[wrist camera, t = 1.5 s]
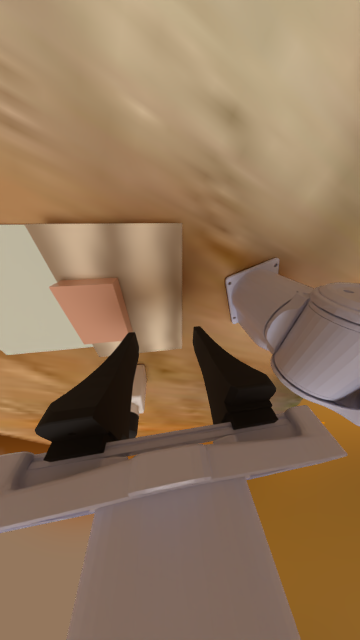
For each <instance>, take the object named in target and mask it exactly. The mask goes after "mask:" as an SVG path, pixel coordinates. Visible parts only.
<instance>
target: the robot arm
mask: <svg viewBox="0 0 360 640" xmlns="http://www.w3.org/2000/svg"><path fill="white" fill-rule="evenodd" d="M275 264H276V265H275ZM274 265H275V266H274ZM278 270H279V258H273V259H271V260H268V261H266V262H264V263H261V264H259V265H256V266H254V267H251V268H249V269H246V270H244V271H241V272H239V273H236V274H234V275H231V276H229V277H227V278H226V279H225V283H226V290H227V296H228V302H229V309H230V315H231V321H232V323H233V324H235V323H239V324H240V325H241V326H242V328H243V329H244V330H245V331H246V332H247V334H248V335H249V336H250V337H251V339H252V340H253V341H254V342H255V343H256V344H257V345H258V346H260V347H261V348H264V349H266V350H269V351H270V352H271V353H272V354H273V355H272V357H271V367H272V370H273V372H274V373H275V375H276V376H277V377H278V379H279V380H280V381H281V382H282V383H283V384H284V385H285V386H286V387H288V388H289V389H290V390H291V391H293V392H294V393H296V394H297V395H299V396H301V397H302V398H304V399H307V400H309V401H311V402H314V403H317V404H320V405H323V406H325V407H327V408H329V409H332V410H333V411H335V412H337V413H339V414H340V415H342V416H343V417H345V418H347V419H348V420H350V421H351V422H353V423H354V424H356V425H358V426H360V284H357V283H343V282H339V283H330V284H327V285H324V286H319V287H316V288H315V289H314V288H311V287H309V286H306V285H304V284H301V283H299V282H296V281H294V280H291V279H289V278H286V277H284V276H281V275H279V274H278ZM229 282H230V284H228V283H229ZM233 317H234V318H233ZM193 346H194V350H195V354H196V356H197V359H198V362H199V365H200V368H201V371H202V374H203V378H204V382H205V386H206V390H207V395H208V400H209V404H210V409H211V414H212V419H213V425H209V426H203V427H197V428H191V429H185V430H179V431H173V432H167V433H162V434H156V435H150V436H144V437H138V438H132V439H129V427H130V412H131V400H132V390H133V382H134V377H135V372H136V367H137V362H138V357H139V344H138V341H137V337H136V333H135V332H129V333H128V334H127V335H126V336H125V338H124V339H123V340H122V342H121V343H120V344H119V345H118V347H117V348H116V349H115V350H114V352H113V353H112V354H111V355H110V356H109V357H108V358H107V359H106V361H105V362H104V363H103V364H102V365H101V366H100V367H98V368H97V369H96V370H95V371H94V372H93V373H92V374H91V375H89V376H88V377H87V378H86V379H85V380H83V381H82V382H81V383H80V384H78V385H77V386H76V387H74V388H73V389H72V390H70V391H69V392H67V393H66V394H64V395H63V396H61V397H60V398H58V399H57V400H56V401H54V402H52V403H51V404H50V406H49V407H48V409H47V410H46V412H45V414H44V415H43V417H42V419H41V420H40V422H39V424H38V425H37V427H36V429H35V432H36V434H37V435H39V436H40V437H43V438H45V439H47V440H49V441H51V442H52V443H51V445H50V447H49V449H48V451H47V453H43V454H36V455H34V454H33V453H31V452H17V453H11V454H5V455H0V533H3V532H7V531H12V530H16V529H21V528H26V527H30V526H35V525H40V524H45V523H50V522H54V521H59V520H64V519H69V518H74V517H79V516H83V515H88V514H93V513H95V515H94V519H93V524H92V529H91V532H90V537H89V541H88V546H87V551H86V555H85V560H84V564H83V568H82V573H81V577H80V582H79V586H78V591H77V595H76V599H75V604H74V608H73V613H72V617H71V621H70V626H69V631H68V635H67V639H66V640H301V639H300V636H299V633H298V630H297V627H296V624H295V621H294V618H293V615H292V613H291V610H290V607H289V604H288V601H287V598H286V595H285V592H284V589H283V586H282V583H281V581H280V578H279V575H278V572H277V569H276V566H275V563H274V560H273V557H272V554H271V551H270V549H269V546H268V543H267V540H266V537H265V534H264V531H263V528H262V525H261V522H260V519H259V516H258V514H257V511H256V508H255V505H254V502H253V499H252V496H251V493H250V491H249V487H248V484H247V481H246V480H249V479H253V478H257V477H262V476H266V475H270V474H275V473H279V472H284V471H288V470H293V469H297V468H301V467H306V466H310V465H315V464H319V463H323V462H327V461H330V460H334V459H338V458H341V457H345V456H347V453H346V452H345V451H344V449H343V448H342V447H341V446H340V445H339V443H338V442H337V441H336V440H335V439H334V437H333V436H332V435H331V434H330V433H329V431H328V430H327V429H326V428H325V426H324V425H323V424H322V423H321V422H320V420H319V419H318V418H317V417H316V416H315V415H314V413H313V412H312V411H311V410H310V408H309V407H308V406H306V405H303V406H297V407H292V408H289V409H287V410H286V411H285V412H284V413H281V414H275V413H274V411H273V410H272V408H271V407H272V404H271V402H270V401H269V399H270V398H271V397H272V396H273V395H274V393H275V392H276V387H275V386H274V384H273V383H272V381H271V380H270V379H269V378H268V376H267V375H266V374H264V373H262V372H260V371H258V370H256V369H253V368H252V367H250V366H248V365H246V364H244V363H243V362H241V361H239V360H238V359H236V358H235V357H233V356H232V355H230V354H229V353H228V352H226V351H225V350H224V349H222V348H221V347H220V346H219V345H218V344H217V343H216V342H214V341H213V340H212V339H211V338H210V337H209V336H208V334H207V333H206V332H205V331H204V330H203V329H202V328H201V327H200V326H198V327H194V331H193ZM209 441H213V444H210V445H203V444H198V443H204V442H209ZM137 454H138V455H137ZM132 455H136V456H134V457H133V458H132V459H129V460H128V457H126V456H132Z"/></svg>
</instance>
